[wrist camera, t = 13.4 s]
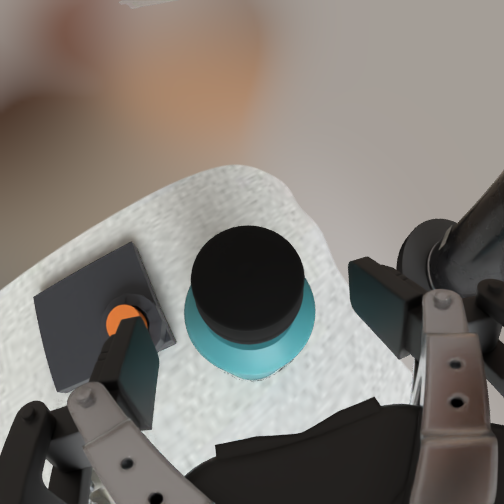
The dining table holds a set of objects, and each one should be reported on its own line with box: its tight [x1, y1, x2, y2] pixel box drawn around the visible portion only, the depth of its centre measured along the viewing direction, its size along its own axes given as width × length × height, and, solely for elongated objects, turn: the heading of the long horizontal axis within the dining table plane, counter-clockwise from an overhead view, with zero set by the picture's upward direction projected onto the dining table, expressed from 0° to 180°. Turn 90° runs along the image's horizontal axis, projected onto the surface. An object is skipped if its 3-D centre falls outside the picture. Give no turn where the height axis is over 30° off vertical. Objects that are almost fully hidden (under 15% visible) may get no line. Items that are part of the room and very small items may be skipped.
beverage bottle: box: [184, 226, 315, 382], centre depth 19 cm, size 6×7×20 cm
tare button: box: [106, 304, 148, 336], centre depth 25 cm, size 4×4×2 cm
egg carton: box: [89, 468, 116, 504], centre depth 18 cm, size 11×8×4 cm
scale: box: [33, 242, 176, 393], centre depth 27 cm, size 15×13×4 cm
